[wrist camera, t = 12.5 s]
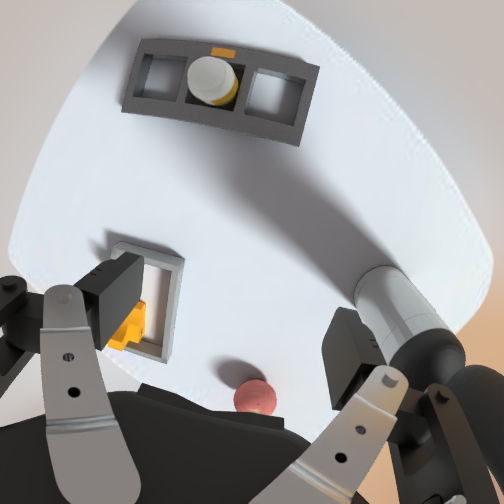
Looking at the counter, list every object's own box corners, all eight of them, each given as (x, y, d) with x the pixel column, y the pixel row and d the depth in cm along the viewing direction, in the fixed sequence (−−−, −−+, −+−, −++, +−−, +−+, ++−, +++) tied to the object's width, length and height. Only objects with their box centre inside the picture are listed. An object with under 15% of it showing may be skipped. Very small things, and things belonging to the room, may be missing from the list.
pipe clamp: (144, 332, 50) (131, 354, 44) (123, 326, 50) (108, 346, 44) (147, 273, 46) (131, 291, 39) (124, 266, 45) (105, 283, 39)
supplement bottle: (196, 104, 36) (174, 93, 27) (205, 68, 35) (186, 48, 26) (235, 110, 36) (224, 100, 27) (244, 74, 35) (236, 53, 26)
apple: (281, 394, 52) (281, 425, 45) (244, 400, 54) (241, 431, 46) (270, 367, 50) (268, 400, 43) (231, 375, 51) (225, 407, 44)
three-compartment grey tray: (316, 72, 34) (320, 66, 31) (296, 146, 38) (299, 146, 35) (149, 44, 33) (140, 38, 30) (130, 113, 37) (120, 112, 34)
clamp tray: (184, 259, 44) (179, 266, 41) (171, 353, 51) (166, 364, 48) (120, 241, 44) (111, 247, 41) (116, 335, 50) (110, 344, 48)
